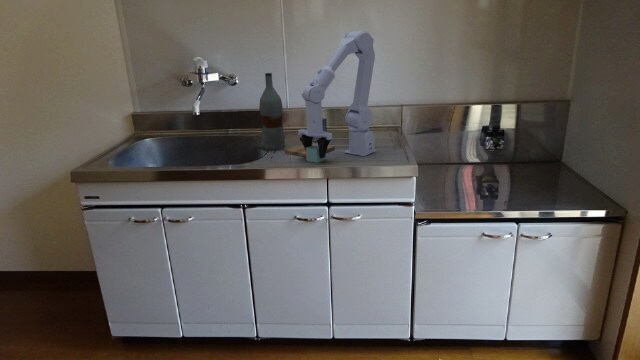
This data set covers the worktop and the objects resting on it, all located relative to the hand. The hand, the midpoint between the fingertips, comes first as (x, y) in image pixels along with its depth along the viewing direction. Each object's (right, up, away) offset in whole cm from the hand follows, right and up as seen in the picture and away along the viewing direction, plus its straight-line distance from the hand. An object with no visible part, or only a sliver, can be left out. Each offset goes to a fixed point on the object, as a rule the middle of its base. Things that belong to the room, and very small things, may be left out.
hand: (315, 156), depth 161 cm
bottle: (-17, +5, +21) cm, 28 cm away
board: (-2, +3, +12) cm, 13 cm away
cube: (0, -1, 0) cm, 2 cm away
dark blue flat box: (+2, +9, +30) cm, 31 cm away
